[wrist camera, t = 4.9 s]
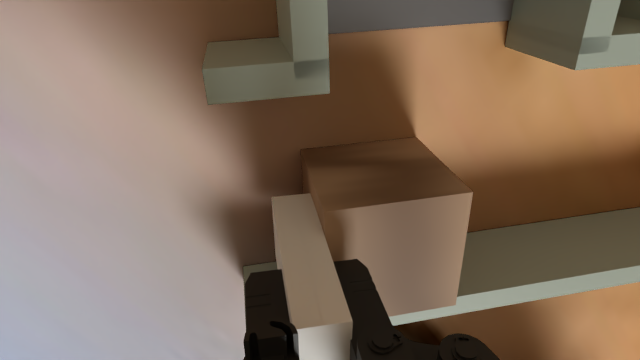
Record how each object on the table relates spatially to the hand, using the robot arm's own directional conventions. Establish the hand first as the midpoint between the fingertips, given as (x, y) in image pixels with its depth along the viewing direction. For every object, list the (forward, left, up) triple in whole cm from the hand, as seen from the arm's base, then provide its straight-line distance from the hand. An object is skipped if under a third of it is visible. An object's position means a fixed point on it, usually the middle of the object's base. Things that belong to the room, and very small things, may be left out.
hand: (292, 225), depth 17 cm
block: (+3, 0, -2) cm, 4 cm away
